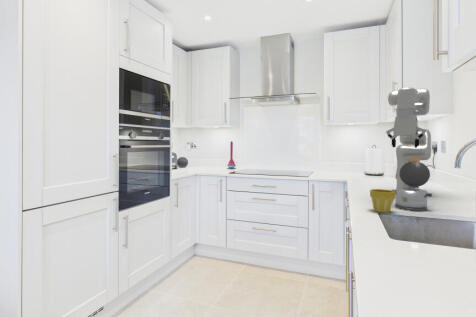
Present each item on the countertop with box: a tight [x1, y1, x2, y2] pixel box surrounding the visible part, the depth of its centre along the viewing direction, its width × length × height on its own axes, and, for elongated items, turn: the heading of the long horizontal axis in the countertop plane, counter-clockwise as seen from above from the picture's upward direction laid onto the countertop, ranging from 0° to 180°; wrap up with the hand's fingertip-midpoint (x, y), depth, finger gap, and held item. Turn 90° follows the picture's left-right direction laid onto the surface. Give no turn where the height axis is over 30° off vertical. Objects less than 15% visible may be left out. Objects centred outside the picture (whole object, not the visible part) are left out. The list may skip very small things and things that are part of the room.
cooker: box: [390, 187, 433, 212], centre depth 132 cm, size 14×17×9 cm
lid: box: [400, 158, 431, 189], centre depth 137 cm, size 16×13×1 cm
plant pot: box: [369, 188, 396, 214], centre depth 126 cm, size 10×10×10 cm
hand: (404, 147), depth 135 cm, fingers open, 9 cm apart
